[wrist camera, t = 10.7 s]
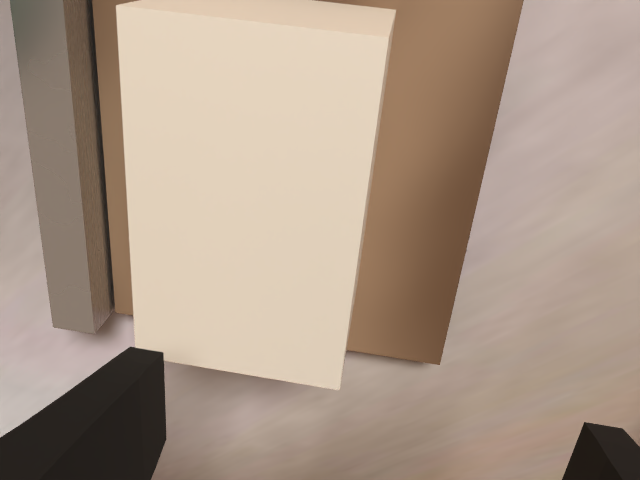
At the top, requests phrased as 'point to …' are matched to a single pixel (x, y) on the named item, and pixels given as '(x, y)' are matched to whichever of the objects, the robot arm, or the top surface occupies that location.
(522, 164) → the top surface
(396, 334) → the shelf board
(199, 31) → the carton
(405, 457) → the top surface
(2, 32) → the top surface
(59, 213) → the price rail
